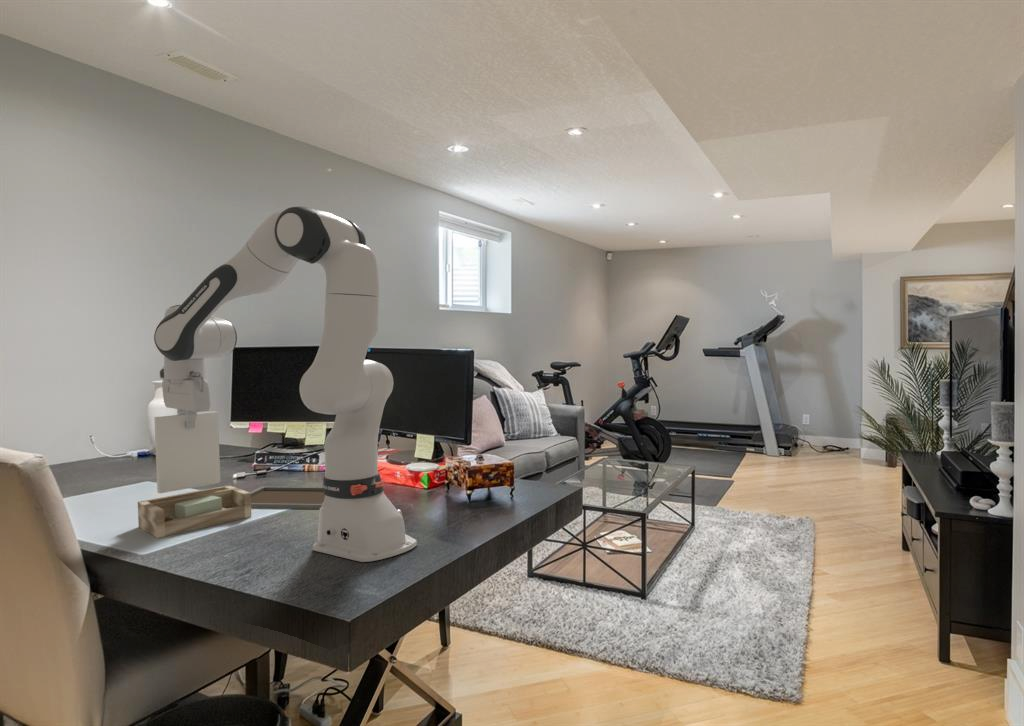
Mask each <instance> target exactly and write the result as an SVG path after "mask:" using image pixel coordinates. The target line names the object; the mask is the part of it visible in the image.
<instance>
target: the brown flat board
mask: <svg viewBox="0 0 1024 726" xmlns="http://www.w3.org/2000/svg"><path fill="white" fill-rule="evenodd" d="M249 492H250V493H251V509H292V510H293V509H295V510H296V509H300V510H301V509H302V510H303V509H304V510H307V509H309V510H312V509H313V510H320V507H321V506H322V504H323V502H324V499H325V494H324V493H323V486H270V485H269V486H266V485H265V486H263V485H262V486H259V487H258V488H255V489H253V490H251V491H249Z"/></svg>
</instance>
